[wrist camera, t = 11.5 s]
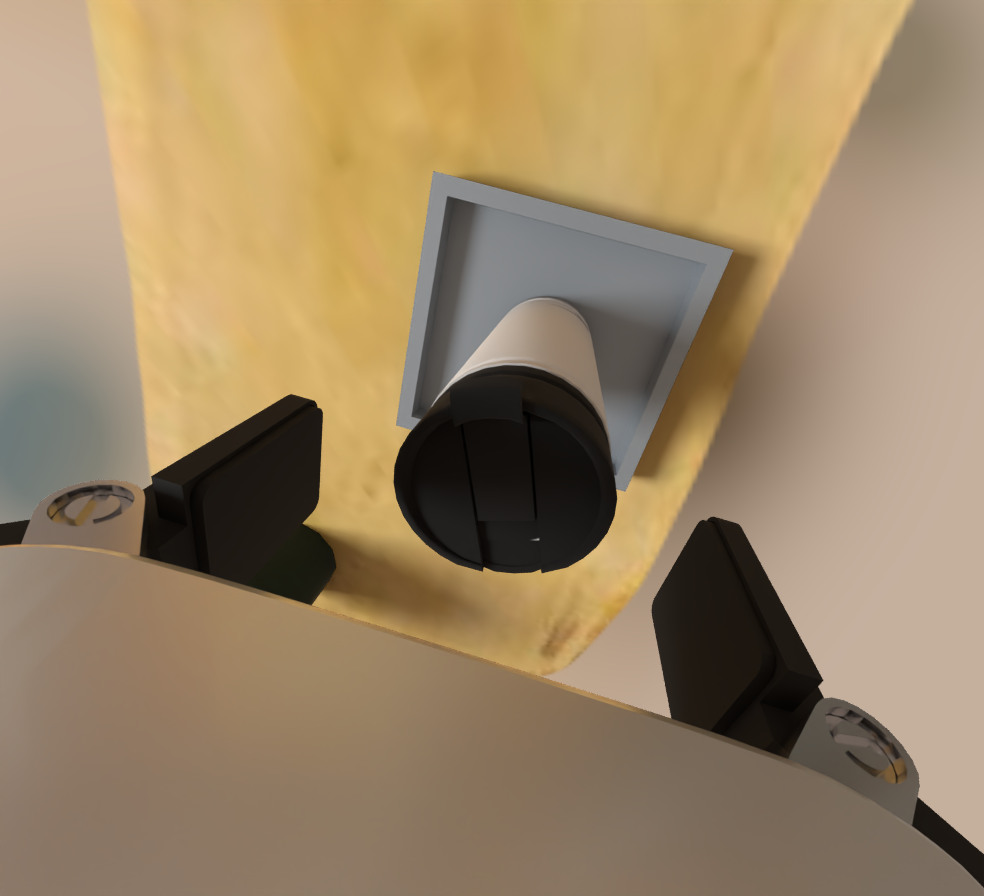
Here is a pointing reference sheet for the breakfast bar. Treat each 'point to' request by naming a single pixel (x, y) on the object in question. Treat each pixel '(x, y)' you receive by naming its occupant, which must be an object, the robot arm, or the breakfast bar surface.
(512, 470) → the travel mug
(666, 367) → the tray
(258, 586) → the wine bottle
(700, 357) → the breakfast bar surface
